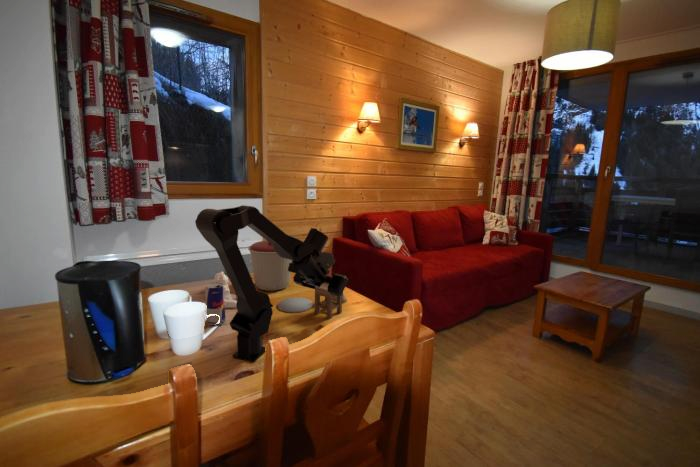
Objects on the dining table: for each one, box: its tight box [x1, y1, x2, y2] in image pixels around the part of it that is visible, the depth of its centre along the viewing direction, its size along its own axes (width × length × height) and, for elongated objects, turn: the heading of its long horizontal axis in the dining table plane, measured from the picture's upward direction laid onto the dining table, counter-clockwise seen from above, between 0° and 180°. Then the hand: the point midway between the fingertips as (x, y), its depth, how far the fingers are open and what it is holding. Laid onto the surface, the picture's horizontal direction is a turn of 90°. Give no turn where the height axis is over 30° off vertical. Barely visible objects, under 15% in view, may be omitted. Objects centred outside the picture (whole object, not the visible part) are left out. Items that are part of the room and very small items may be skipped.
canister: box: [247, 240, 292, 292], centre depth 133 cm, size 18×18×21 cm
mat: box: [277, 297, 314, 314], centre depth 117 cm, size 12×12×1 cm
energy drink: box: [204, 282, 227, 326], centre depth 102 cm, size 5×5×12 cm
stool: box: [314, 283, 343, 320], centre depth 111 cm, size 6×6×10 cm
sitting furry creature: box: [214, 271, 237, 309], centre depth 115 cm, size 10×9×12 cm
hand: (331, 292), depth 112 cm, fingers open, 9 cm apart
